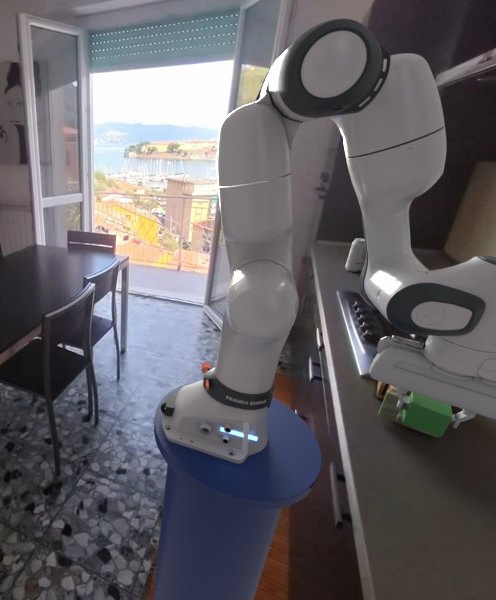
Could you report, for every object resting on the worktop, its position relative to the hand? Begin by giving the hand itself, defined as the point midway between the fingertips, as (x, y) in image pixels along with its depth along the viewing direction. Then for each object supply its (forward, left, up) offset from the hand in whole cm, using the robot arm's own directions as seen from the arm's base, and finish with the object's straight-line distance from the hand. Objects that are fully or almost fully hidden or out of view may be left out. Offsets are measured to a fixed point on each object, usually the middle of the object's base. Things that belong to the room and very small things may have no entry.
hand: (425, 416), depth 65 cm
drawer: (+7, +14, -12) cm, 20 cm away
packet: (0, 0, -2) cm, 2 cm away
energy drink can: (+34, +123, -13) cm, 129 cm away
